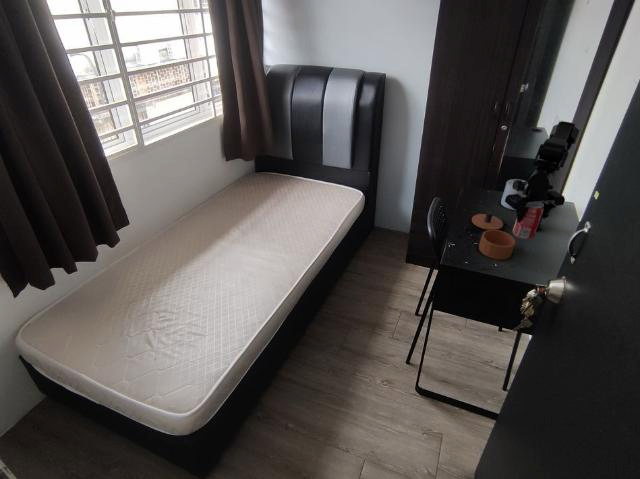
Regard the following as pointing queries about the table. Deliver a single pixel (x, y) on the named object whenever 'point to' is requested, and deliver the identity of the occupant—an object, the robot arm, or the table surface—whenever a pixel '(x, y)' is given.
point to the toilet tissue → (509, 191)
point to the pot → (497, 244)
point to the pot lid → (487, 221)
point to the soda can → (529, 221)
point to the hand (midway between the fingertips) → (527, 221)
